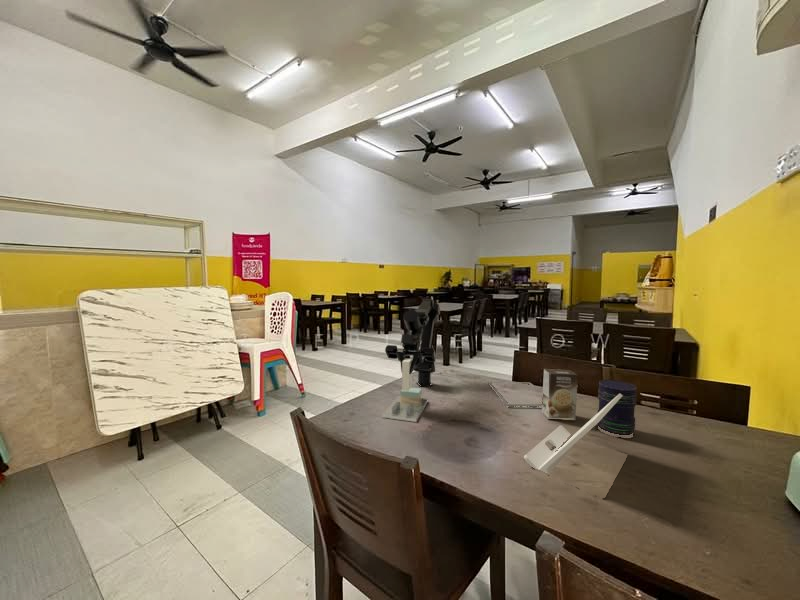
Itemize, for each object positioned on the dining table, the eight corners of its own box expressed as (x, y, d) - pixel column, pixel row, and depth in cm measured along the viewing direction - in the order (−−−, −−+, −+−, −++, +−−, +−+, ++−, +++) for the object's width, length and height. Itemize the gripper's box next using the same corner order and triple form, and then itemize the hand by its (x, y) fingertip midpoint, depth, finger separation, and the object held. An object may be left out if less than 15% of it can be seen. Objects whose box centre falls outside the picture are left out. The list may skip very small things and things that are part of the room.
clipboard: (507, 405, 117) (486, 380, 147) (507, 409, 118) (486, 383, 148) (559, 405, 117) (528, 380, 147) (559, 410, 117) (527, 383, 147)
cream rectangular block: (405, 386, 119) (405, 358, 118) (411, 386, 118) (412, 359, 117) (402, 390, 114) (402, 361, 114) (408, 390, 114) (408, 362, 113)
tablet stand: (628, 456, 86) (632, 395, 85) (604, 501, 68) (608, 424, 67) (558, 433, 99) (560, 379, 98) (522, 466, 81) (524, 400, 80)
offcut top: (404, 391, 126) (404, 386, 125) (421, 393, 124) (421, 388, 123) (400, 396, 121) (400, 390, 121) (418, 398, 119) (418, 392, 119)
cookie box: (547, 420, 107) (549, 373, 106) (541, 412, 114) (542, 368, 113) (576, 421, 106) (578, 374, 105) (568, 413, 113) (569, 369, 112)
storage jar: (597, 434, 98) (599, 386, 97) (595, 421, 106) (597, 378, 105) (637, 442, 93) (640, 392, 92) (631, 428, 102) (633, 382, 101)
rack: (398, 398, 127) (398, 390, 127) (427, 401, 124) (428, 393, 123) (382, 417, 109) (382, 408, 109) (416, 422, 105) (416, 413, 105)
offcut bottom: (404, 396, 126) (404, 391, 126) (421, 398, 124) (421, 393, 124) (400, 401, 121) (400, 396, 121) (418, 403, 119) (418, 398, 119)
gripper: (386, 324, 121) (376, 359, 111) (434, 326, 116) (428, 363, 106) (393, 340, 129) (383, 375, 119) (438, 343, 124) (432, 379, 114)
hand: (406, 373), depth 114 cm, fingers closed on cream rectangular block, 2 cm apart
